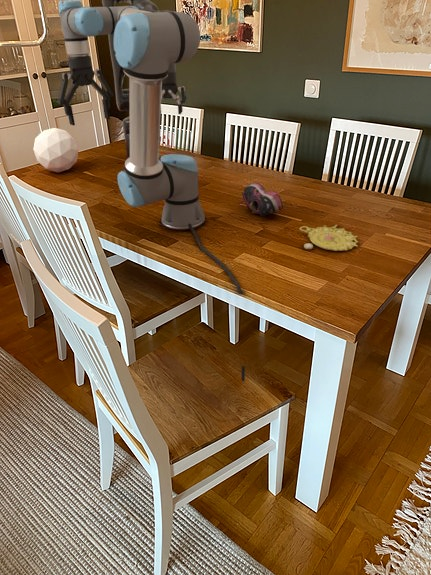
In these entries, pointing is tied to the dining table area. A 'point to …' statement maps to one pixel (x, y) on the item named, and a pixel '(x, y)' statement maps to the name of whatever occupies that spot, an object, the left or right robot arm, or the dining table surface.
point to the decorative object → (330, 238)
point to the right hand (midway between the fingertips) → (90, 121)
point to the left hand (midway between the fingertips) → (169, 113)
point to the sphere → (55, 150)
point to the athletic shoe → (261, 200)
